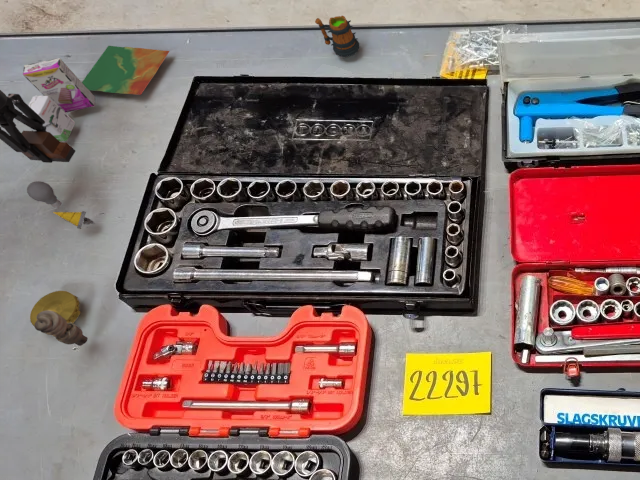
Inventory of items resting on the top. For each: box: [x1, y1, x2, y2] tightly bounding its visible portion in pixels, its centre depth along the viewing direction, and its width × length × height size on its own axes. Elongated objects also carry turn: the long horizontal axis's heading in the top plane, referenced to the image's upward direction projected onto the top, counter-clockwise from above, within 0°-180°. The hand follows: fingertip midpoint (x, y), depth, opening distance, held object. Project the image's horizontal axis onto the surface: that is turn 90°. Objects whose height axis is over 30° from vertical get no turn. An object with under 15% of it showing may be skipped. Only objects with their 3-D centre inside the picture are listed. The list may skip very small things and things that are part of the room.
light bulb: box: [26, 180, 63, 209], centre depth 161 cm, size 6×6×10 cm
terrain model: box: [81, 45, 170, 96], centre depth 192 cm, size 25×22×1 cm
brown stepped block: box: [21, 130, 76, 163], centre depth 155 cm, size 12×4×8 cm, turn 85°
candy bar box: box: [22, 57, 96, 114], centre depth 177 cm, size 11×5×16 cm, turn 108°
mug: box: [314, 15, 361, 58], centre depth 190 cm, size 13×10×12 cm
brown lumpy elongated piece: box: [33, 310, 88, 347], centre depth 138 cm, size 6×6×15 cm
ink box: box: [23, 95, 76, 142], centre depth 174 cm, size 9×5×12 cm, turn 1°
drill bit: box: [52, 210, 96, 230], centre depth 159 cm, size 5×5×10 cm
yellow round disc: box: [29, 290, 81, 327], centre depth 148 cm, size 12×12×2 cm
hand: (52, 154), depth 158 cm, fingers closed on brown stepped block, 4 cm apart
